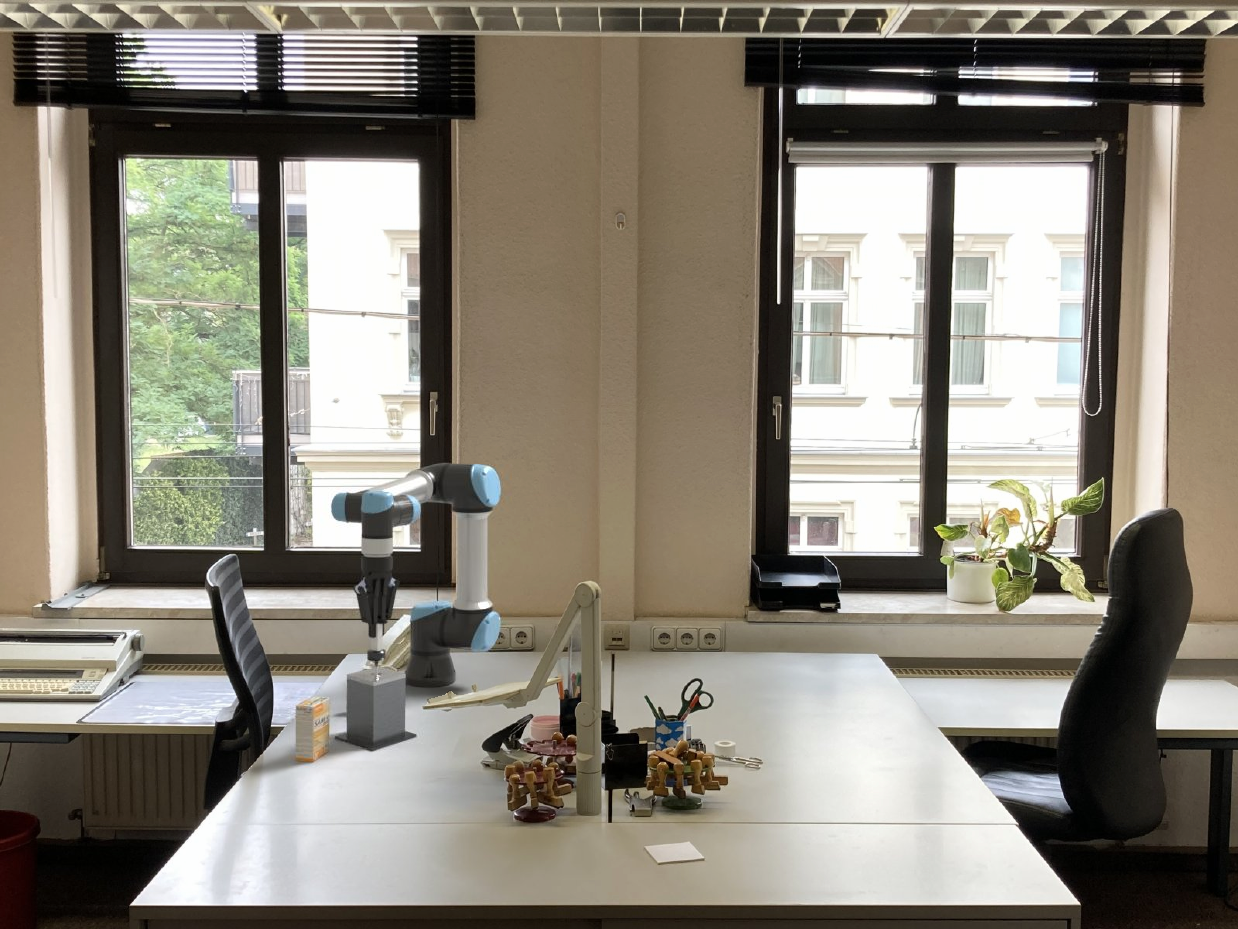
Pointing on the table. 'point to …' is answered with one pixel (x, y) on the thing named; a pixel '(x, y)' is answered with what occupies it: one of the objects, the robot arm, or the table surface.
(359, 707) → the block
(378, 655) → the plunger
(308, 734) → the supplement box
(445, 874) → the table surface
